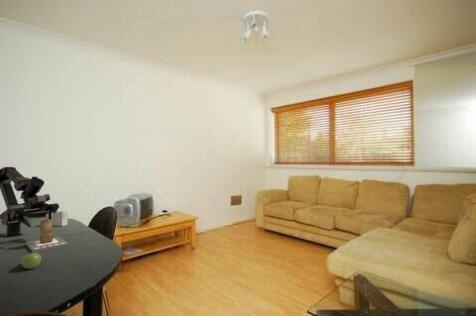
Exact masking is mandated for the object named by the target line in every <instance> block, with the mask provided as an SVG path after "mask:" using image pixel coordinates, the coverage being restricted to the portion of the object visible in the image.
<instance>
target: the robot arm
mask: <svg viewBox="0 0 476 316" xmlns="http://www.w3.org/2000/svg"><path fill="white" fill-rule="evenodd" d="M11 182H12V183H14V184H13V186H12V183H11ZM44 185H45V180H43V179H41V178H39V177H38V176H31V178H30V177H25V176H23V175H22V173H20V172H19V171H18V170H17V169H16V167H14V166H4V167H1V168H0V192H1V195H2V198H3V200H4V204H5V207H6V210H5V211H4V214H3V215H4V216H3V217H2V219H1V220H0V221H1V225H3V226H6V230H5V231H6V233H5V234H4V236H5V237H6V238H11V237H16V236H22V235H23V233H22V231H21V230H22V224H24V225H25V226H27V228H32V224H31V221H30V219H29V217H28V214H36V213H37V214H39V213H45V215H46V214H48V220H53V219H54V213H56V211H59V208H60V205H59V203H58V202H57V203H48V205H47V206H45V203H47V202H49V201H50V200H51V196H50V194H49V193H47V194H42V195H38V194H39V192H40V191H41V190H42V187H44ZM13 187H14V188H13ZM14 189H15V191H17V192H21V193H20V199H22V200H23V203H24V204H22V203H21V204H19V202H18V200H17V197H16V194H15V191H14ZM44 206H45V207H44ZM10 236H11V237H10Z"/></svg>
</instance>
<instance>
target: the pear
mask: <svg viewBox="0 0 476 316" xmlns="http://www.w3.org/2000/svg"><path fill="white" fill-rule="evenodd" d="M41 261H42V256H41V254H40V253H39V252H36V253H33V252H31V253H28V254H26V255H24V256H23V257H22V260H21V265H22V267H23V268H25V270H26V269H28V270H31V269H35V268H37V267H38V266H39V265H40V263H41Z"/></svg>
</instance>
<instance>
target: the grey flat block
mask: <svg viewBox="0 0 476 316" xmlns="http://www.w3.org/2000/svg"><path fill="white" fill-rule="evenodd" d="M25 245H26V246H27V248H28V249H29V250H30V251H31V253H41V252H45V251H50V250H56V249H59V248H65V247H68V246H69V243H68V242H67V241H65V240H64V239H63V238H62V237H60V236H53V242H51V243H46V244H41V243H40V239H37V240H30V241H26V242H25Z"/></svg>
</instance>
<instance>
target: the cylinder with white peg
mask: <svg viewBox="0 0 476 316" xmlns="http://www.w3.org/2000/svg"><path fill="white" fill-rule="evenodd" d="M39 227H40V229H39V231H40V232H39V240H40V243H41V244H46V243H51V242H53V237H54V226H53V220H49V219H48V214H46V213H45V219H42V220H40V226H39Z"/></svg>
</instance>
